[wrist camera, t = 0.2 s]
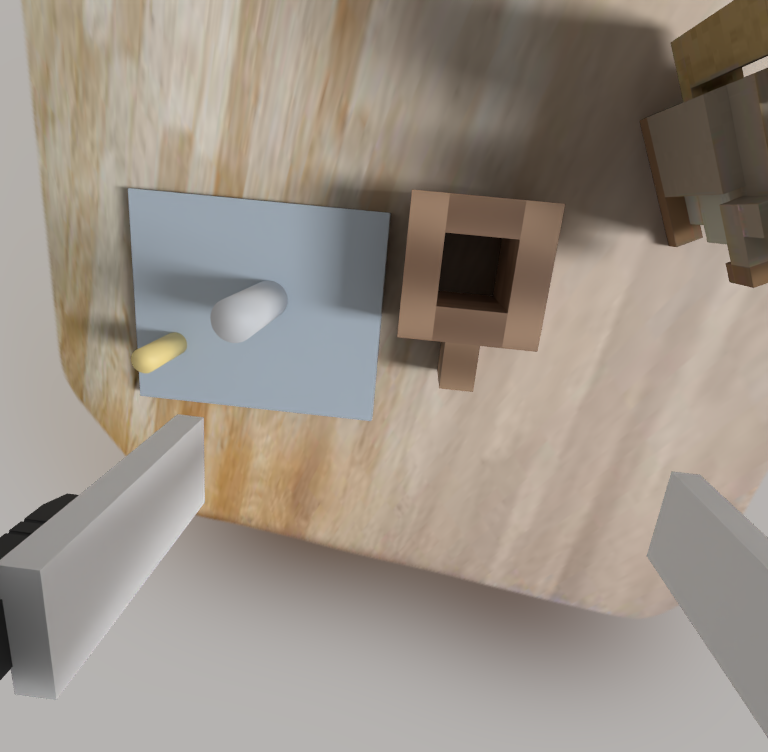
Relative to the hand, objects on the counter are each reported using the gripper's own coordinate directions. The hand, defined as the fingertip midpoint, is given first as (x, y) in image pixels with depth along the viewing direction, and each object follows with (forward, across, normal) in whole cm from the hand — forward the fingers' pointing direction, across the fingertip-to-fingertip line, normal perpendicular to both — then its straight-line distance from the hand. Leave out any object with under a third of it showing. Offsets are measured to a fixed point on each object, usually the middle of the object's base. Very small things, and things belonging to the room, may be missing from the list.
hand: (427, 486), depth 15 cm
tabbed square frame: (+26, +3, +2) cm, 27 cm away
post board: (+27, -13, -1) cm, 29 cm away
